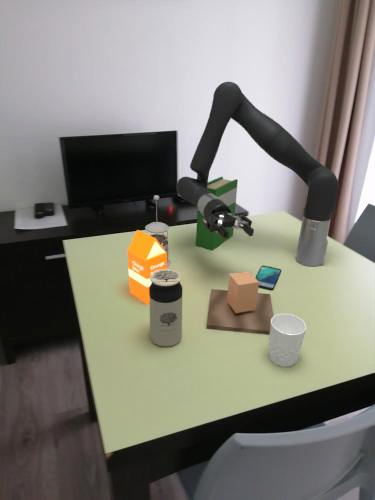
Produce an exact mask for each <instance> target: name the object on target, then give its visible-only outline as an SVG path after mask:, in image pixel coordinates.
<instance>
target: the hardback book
mask: <svg viewBox="0 0 375 500" xmlns="http://www.w3.org/2000/svg"><path fill="white" fill-rule="evenodd" d="M207 189H208V190H209V191H210V192H211V193H212V194H214V195H215V196H217V197H218V198H219V199H220V200H222V201H223V202H224V203H225V204H226V205H227V206H228V207H229V208H230V211H231V213H232V214H234V215H235V216H236V203H237V193H238V179H233V180H229V179H224V177H223V176H219V177H218V178H214V179H212V180H210V181H208V184H207ZM196 209H197V208H196ZM196 212H197V213H196V232H195V233H196V237H195V238H196V239H195V240H196V241H195V246H196V247H198V248H202V249H206V250H208V251H212V252H213V251H214V250H216V249H217V248H218V247H220V246H221V245H222V244H224V243H225V242H227V241H228V240H229V239H231V238H232V237H233V236H234V229H235V228H232V227H226V228H225V229H226V230H227V231H228V232H229V235H228V238H226V239H225V238H224V237H222V236H221V235H220V234H219V233H217V232H216V231H213V232H210V231H209V230H208V229H207V228H206V227H205V225H204V224H203V219H204V216H203V215H202V214H201V212H200V211H199V210H198V209H197V211H196Z"/></svg>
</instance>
